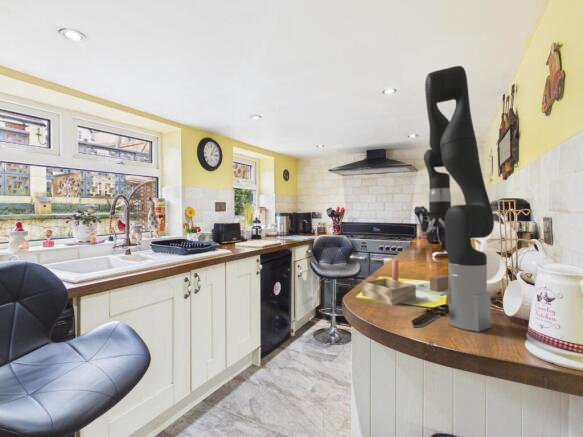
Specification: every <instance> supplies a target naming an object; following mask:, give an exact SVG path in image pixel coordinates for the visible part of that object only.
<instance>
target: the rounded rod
mask: <svg viewBox="0 0 583 437" xmlns="http://www.w3.org/2000/svg"><path fill="white" fill-rule="evenodd" d="M391 279H392V280H396V281H399V260H398V259H392V260H391Z"/></svg>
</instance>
